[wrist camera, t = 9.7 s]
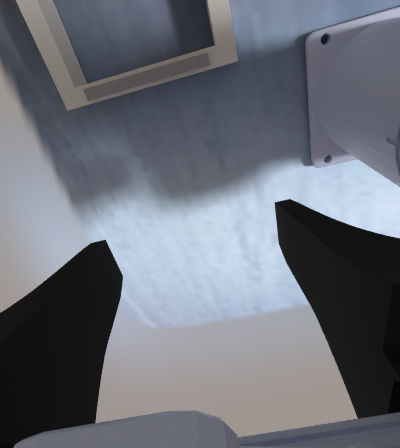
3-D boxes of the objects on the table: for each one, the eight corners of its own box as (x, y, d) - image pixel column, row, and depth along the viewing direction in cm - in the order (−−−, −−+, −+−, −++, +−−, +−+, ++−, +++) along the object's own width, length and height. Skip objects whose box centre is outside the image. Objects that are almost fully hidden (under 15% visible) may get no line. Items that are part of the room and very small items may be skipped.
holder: (208, -97, 13) (209, -123, 11) (234, 60, 16) (239, 61, 14) (22, -27, 15) (-7, -40, 13) (80, 105, 18) (65, 111, 16)
